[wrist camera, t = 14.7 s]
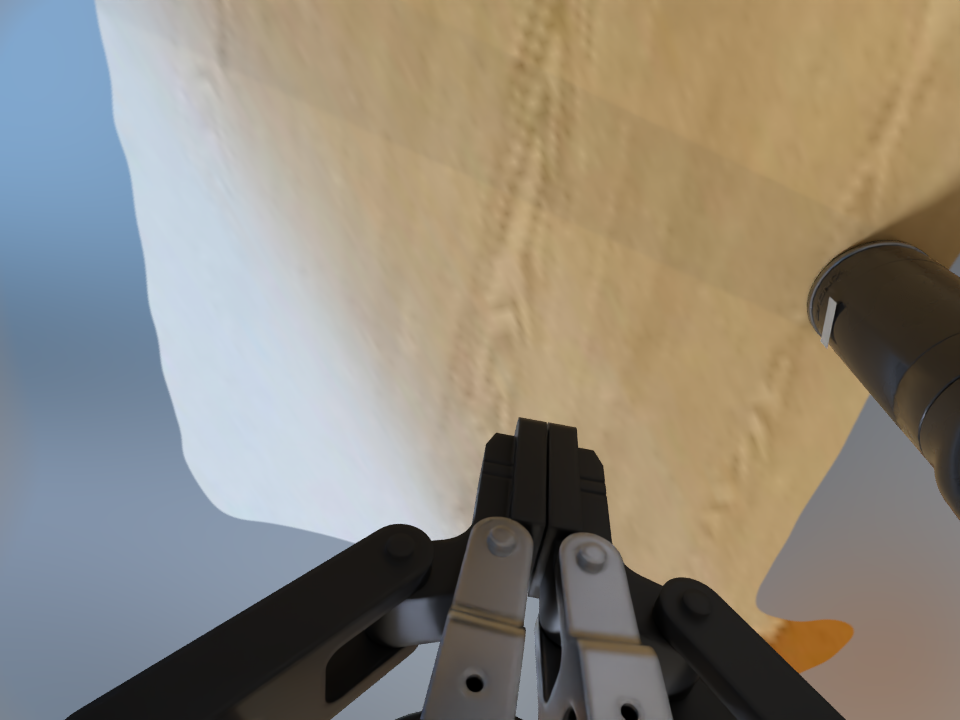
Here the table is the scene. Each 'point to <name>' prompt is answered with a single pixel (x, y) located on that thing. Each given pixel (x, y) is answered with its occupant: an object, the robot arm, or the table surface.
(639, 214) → the table surface
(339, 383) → the table surface
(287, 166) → the table surface
